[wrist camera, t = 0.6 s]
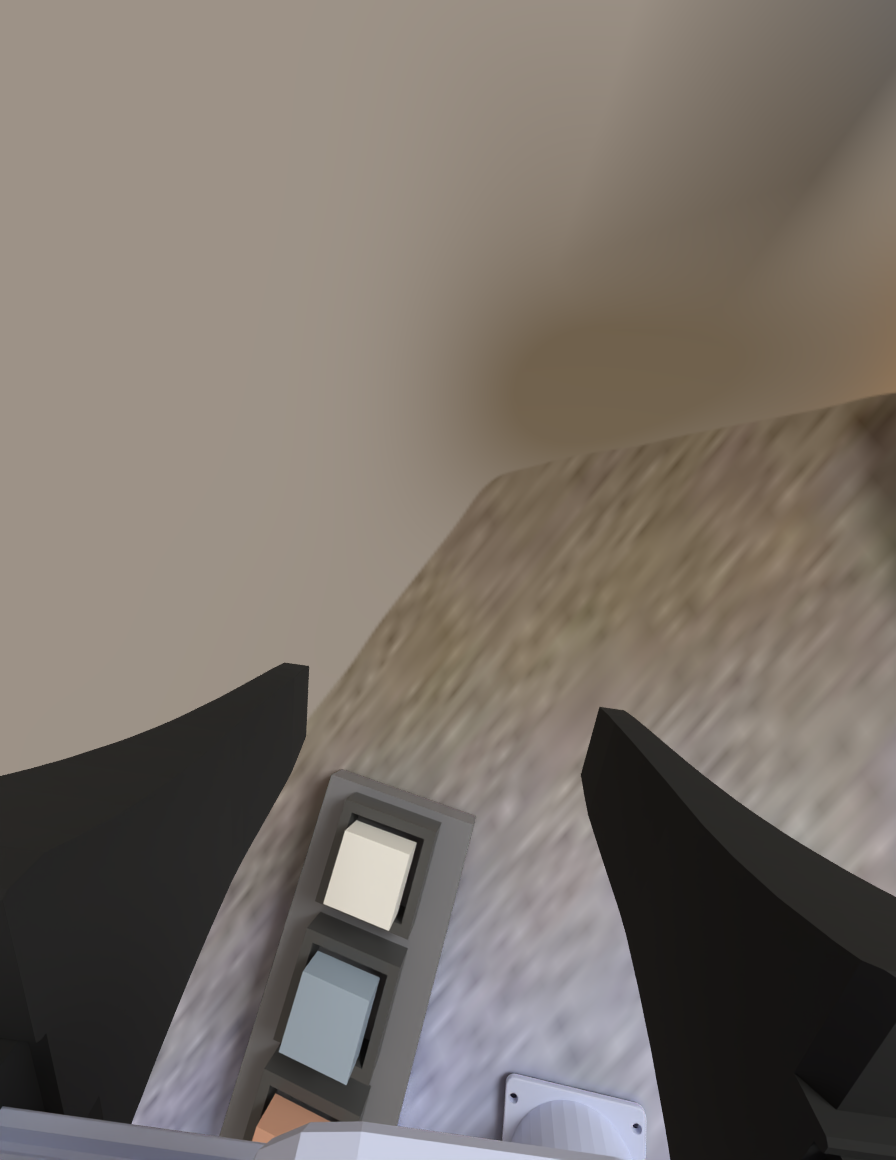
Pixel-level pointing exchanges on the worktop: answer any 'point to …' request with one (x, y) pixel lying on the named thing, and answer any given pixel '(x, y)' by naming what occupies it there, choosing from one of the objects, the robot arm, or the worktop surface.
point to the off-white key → (370, 874)
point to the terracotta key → (282, 1119)
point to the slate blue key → (329, 1016)
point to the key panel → (357, 960)
